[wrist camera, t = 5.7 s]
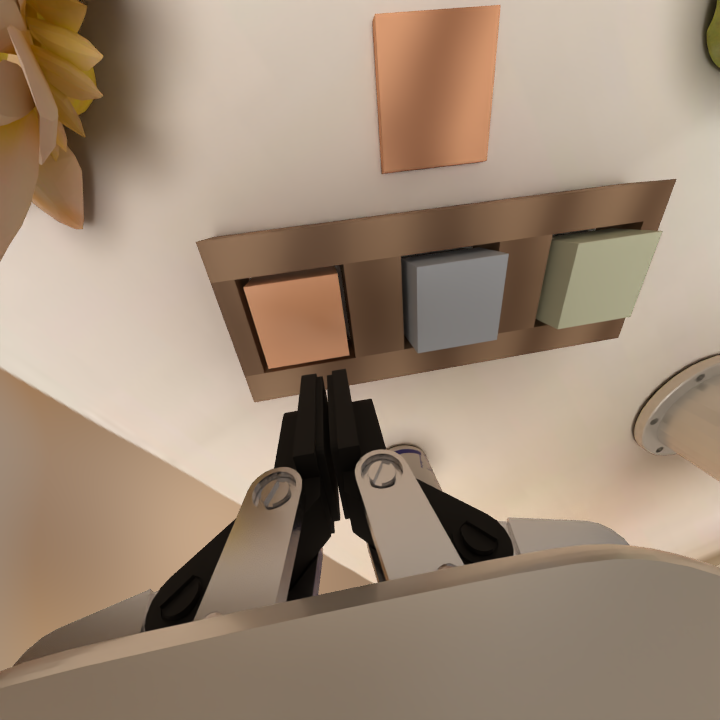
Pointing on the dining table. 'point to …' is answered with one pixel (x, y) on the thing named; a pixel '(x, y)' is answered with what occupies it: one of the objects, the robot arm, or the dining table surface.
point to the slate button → (452, 297)
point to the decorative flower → (42, 110)
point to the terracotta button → (298, 316)
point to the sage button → (594, 276)
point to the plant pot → (714, 36)
